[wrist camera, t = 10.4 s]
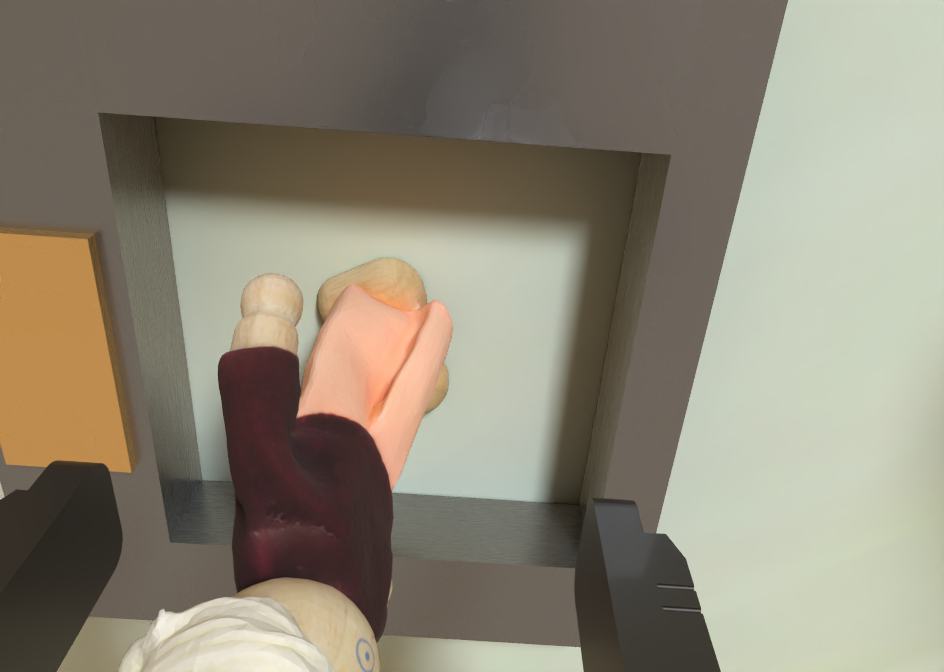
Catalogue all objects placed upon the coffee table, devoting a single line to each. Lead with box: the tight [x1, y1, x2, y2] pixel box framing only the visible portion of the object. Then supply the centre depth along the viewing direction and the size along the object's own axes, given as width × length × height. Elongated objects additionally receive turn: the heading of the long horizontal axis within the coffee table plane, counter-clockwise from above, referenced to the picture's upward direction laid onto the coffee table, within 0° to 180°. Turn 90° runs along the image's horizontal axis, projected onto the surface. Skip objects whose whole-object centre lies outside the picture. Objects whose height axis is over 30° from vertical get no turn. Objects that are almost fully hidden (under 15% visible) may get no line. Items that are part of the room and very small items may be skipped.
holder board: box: [0, 0, 788, 647], centre depth 18 cm, size 17×16×3 cm
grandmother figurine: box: [117, 258, 453, 672], centre depth 13 cm, size 8×4×13 cm, turn 21°
